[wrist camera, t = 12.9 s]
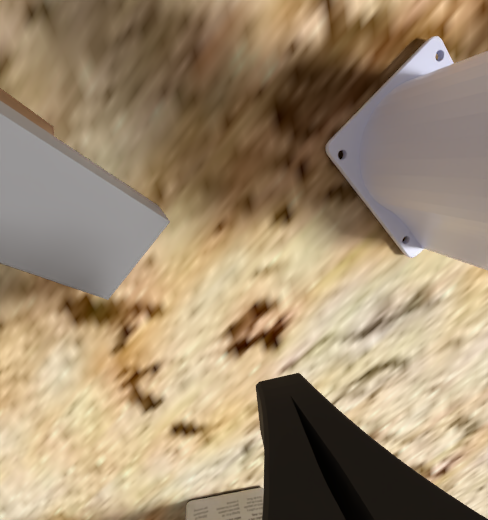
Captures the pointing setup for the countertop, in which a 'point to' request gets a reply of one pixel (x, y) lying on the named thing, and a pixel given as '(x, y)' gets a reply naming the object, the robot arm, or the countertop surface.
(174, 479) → the countertop surface
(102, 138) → the countertop surface
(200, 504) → the coffee box
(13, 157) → the domino
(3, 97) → the domino
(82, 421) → the countertop surface
